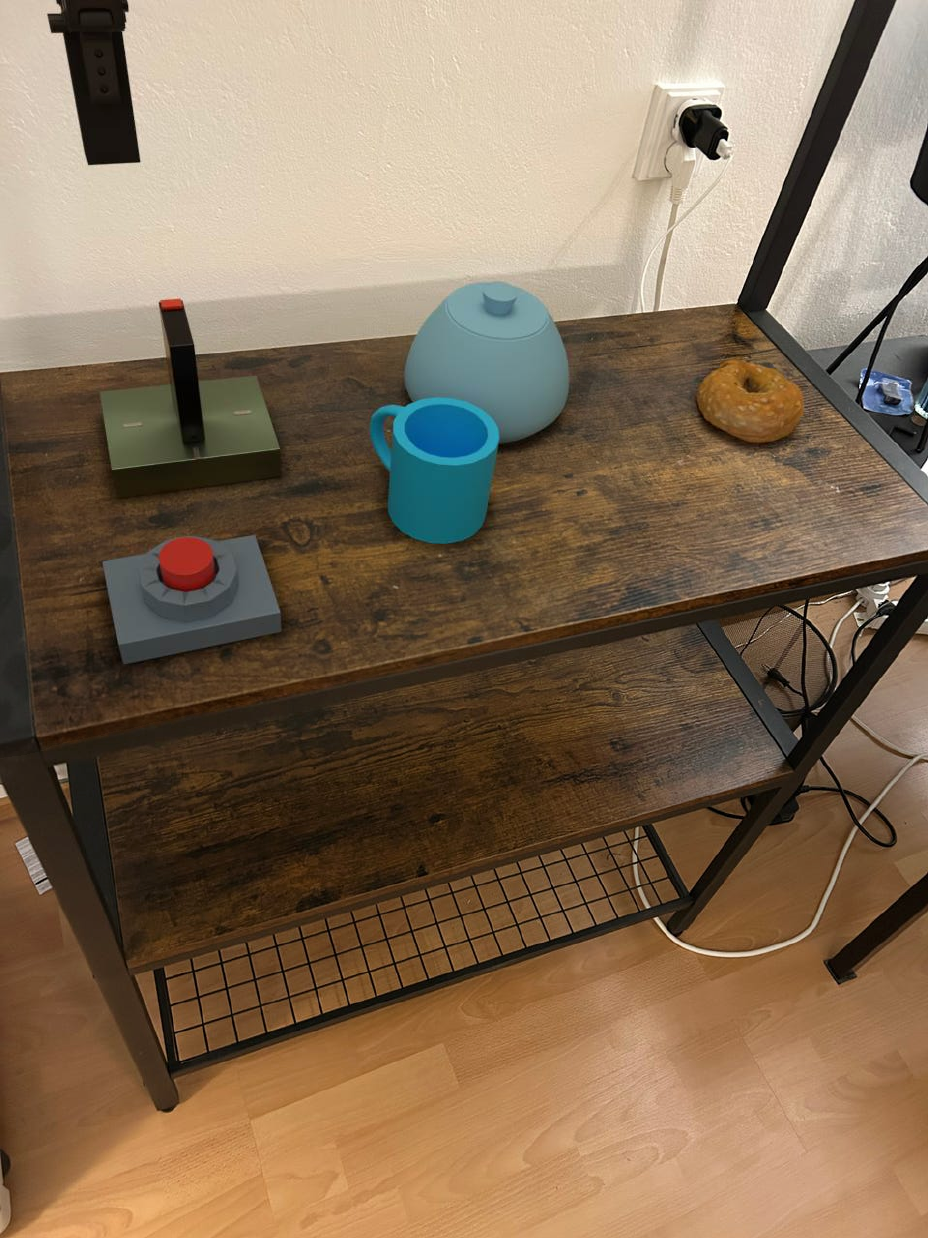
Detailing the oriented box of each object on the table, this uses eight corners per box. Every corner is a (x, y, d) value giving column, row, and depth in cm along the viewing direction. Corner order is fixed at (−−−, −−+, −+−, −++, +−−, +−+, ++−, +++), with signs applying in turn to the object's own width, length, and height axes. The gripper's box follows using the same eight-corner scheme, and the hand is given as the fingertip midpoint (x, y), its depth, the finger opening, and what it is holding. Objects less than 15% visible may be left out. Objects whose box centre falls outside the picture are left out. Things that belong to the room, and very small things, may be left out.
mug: (506, 512, 81) (521, 434, 75) (438, 559, 76) (448, 480, 70) (404, 440, 85) (410, 362, 79) (335, 481, 81) (335, 401, 75)
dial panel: (118, 499, 77) (111, 468, 74) (105, 419, 83) (98, 388, 80) (281, 477, 80) (280, 447, 78) (257, 402, 86) (256, 372, 84)
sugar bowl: (591, 397, 92) (619, 287, 84) (508, 477, 84) (530, 363, 75) (461, 335, 97) (475, 225, 88) (370, 404, 88) (375, 289, 79)
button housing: (123, 664, 66) (113, 627, 63) (107, 581, 71) (97, 543, 68) (281, 632, 70) (279, 595, 67) (256, 554, 74) (253, 516, 71)
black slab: (205, 440, 78) (194, 341, 71) (182, 443, 77) (168, 343, 70) (194, 395, 81) (182, 296, 74) (171, 397, 81) (157, 298, 74)
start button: (166, 596, 66) (163, 578, 65) (157, 559, 68) (154, 541, 67) (219, 586, 67) (217, 569, 66) (209, 550, 69) (207, 532, 68)
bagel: (803, 400, 96) (821, 359, 93) (786, 464, 89) (805, 422, 86) (706, 369, 98) (721, 328, 94) (682, 430, 91) (697, 388, 87)
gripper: (142, -484, 32) (207, 211, 49) (91, -508, 39) (163, 103, 57) (-113, -521, 29) (51, 222, 47) (-115, -539, 37) (27, 108, 55)
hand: (112, 156), depth 52 cm, fingers closed
